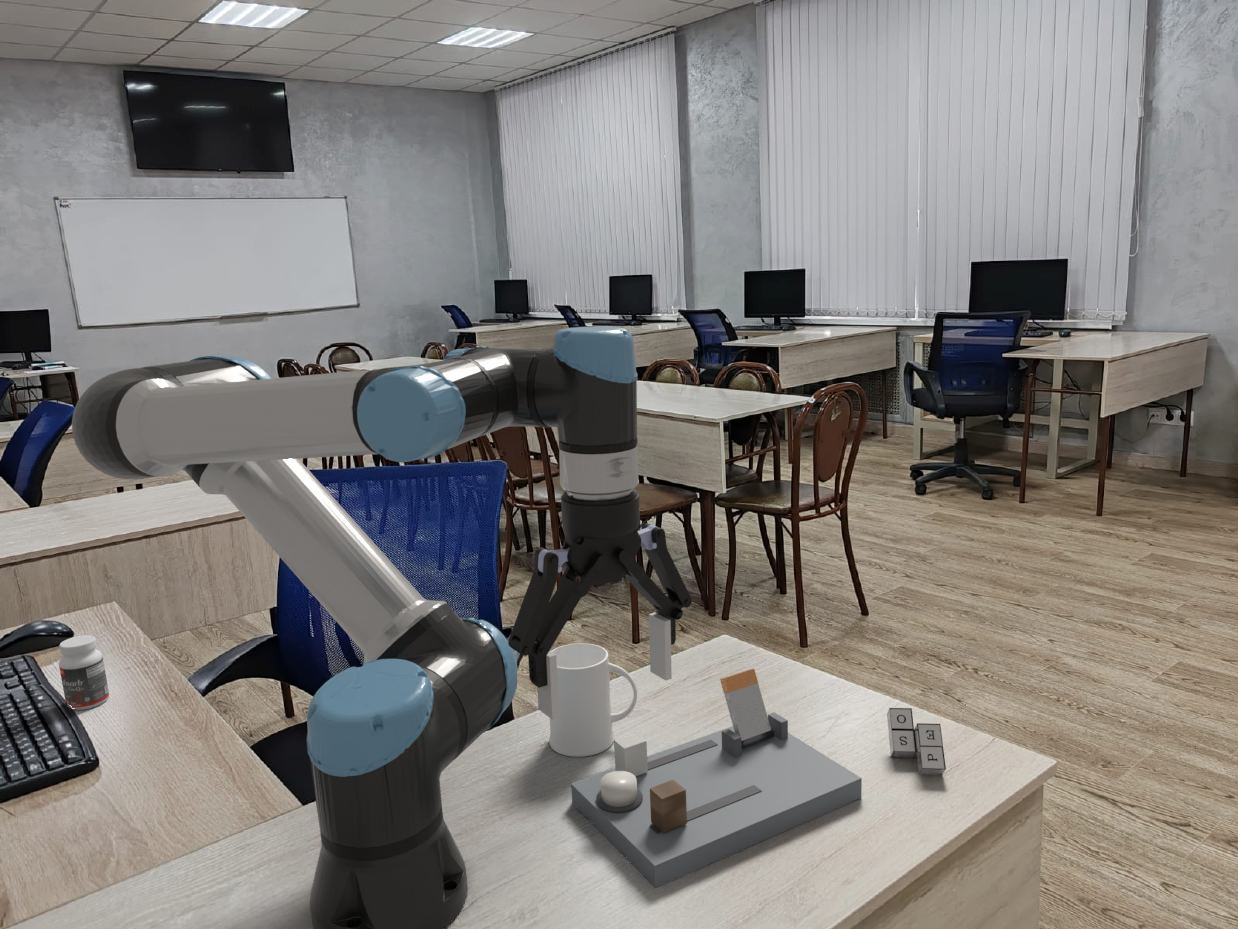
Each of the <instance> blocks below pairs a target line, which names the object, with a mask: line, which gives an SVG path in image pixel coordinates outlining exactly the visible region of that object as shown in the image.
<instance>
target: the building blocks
mask: <svg viewBox="0 0 1238 929" xmlns="http://www.w3.org/2000/svg"><path fill="white" fill-rule="evenodd" d="M886 718H887V727H888V728H887V730H888V740H889V748H890V749H889V750H890V757H891V758H905V759H906V758H908V759H909V758H915V759H917V760H916V762H917V768H918V771H917V772H918V774H919V775H925V776H926V775H928V776H930V775H935V776H943V775H944V773H945V771H946V769H947V768H946V767H947V766H946V759H945V752H944V750H945V749H944V743H943V734H942V728H941V723H927V722H926V723H923V722H922V723H921V722H918V723H917V722H916V725H914V719H913V718H914V717H913V708H911V707H910V708H909V707H906V708H905V707H889V708H888V710H887V714H886Z"/></svg>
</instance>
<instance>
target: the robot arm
mask: <svg viewBox="0 0 1238 929" xmlns="http://www.w3.org/2000/svg"><path fill="white" fill-rule="evenodd" d="M636 366H637V365H636V356H635V343H634V338H633V335H632V334H631V332H630V331H628V330H627V329H626V328H624V327H618V326H607V325H603V326H597V325H596V326H578V327H577V326H576V327H568V328H567V327H565V328H562V329H559V330H558V331H556V332H555V334H554V337H553V345H552V347H550V348H543V349H535V348H534V349H530V348H529V349H528V348H500V347H499V348H494V347H489V346H482V345H480V346H478V347H477V346H476V347H469V348H457V349H453V350H451V351H449V352H448V353H447V354H446V355H445V357H444V358H443V360H440V361H439V360H438V361H434V362H428V363H421V364H416V365H415V364H414V365H404V366H393V367H384V368H377V369H376V368H375V369H374V368H373V369H363V370H354V371H353V370H352V371H342V372H341V371H340V372H330V373H320V374H319V373H318V374H308V375H307V374H306V375H294V376H287V377H286V376H284V377H274V378H272V377H271V376H270V374H269V373H267V371H265V370H264V369H263V368H261V367H260V366H259V365H258V364H256V363H254V362H252V361H251V360H249V359H245V358H243V357H239V356H234V355H233V356H232V355H225V356H224V355H223V356H218V355H204V356H198V357H196V358H193V359H191V360H186V361H180V362H171V363H166V364H157V365H151V366H143V367H135V368H134V367H133V368H127V369H123V370H119V371H117V372H113V373H109V374H106V375H105V376H103V377H101V378H100V379H98V380H97V381H95V382H93V383H92V384H91V385H90V386H89V387H87V389H85V391H84V392H83V393H82V395H81V396H80V398H79V399H78V400H77V402H76V405H75V407H74V410H73V412H72V418H71V419H72V420H71V431H72V436H73V440H74V444H75V446H76V448H77V449H78V451H79V453H80V455H81V456H82V457H83V459H84V460H85V461H86V462H87V463H88V464H89V465H90V466H92V467H93V468H94V469H96V470H97V471H100V472H101V473H103V474H104V475H106V476H107V475H108V476H109V477H113V478H115V479H123V480H144V479H150V478H155V477H168V476H172V475H174V474H177V473H179V472H181V471H184V472H185V473H186V474H187V475H188V477H190V478H191V480H193V482H194V483H195V484H196V485H197V486H198V487H199V489H201V491H202V492H203V493H205V494H207V495H222V496H226V498H227V499H228V500H229V501H230V502H231V503H232V504H233V505H234V507H235V508H236V509H237V510H238V511H239V513H241V515H242V516H243V517H244V518H245V519H246V520H247V522H248V523H249V524H250V525H251V526H252V527H253V528H254V529H255V531H256V532H257V533H258V534H259V535H260V536H261V538H263V539H264V541H265V542H266V544H268V545H269V547H270V548H271V549H272V550H273V551H274V552H275V553H276V555H277V556H278V557H279V558H280V559H281V560H282V561H283V563H284V564H285V565H286V566H287V567H288V568H289V570H291V572H293V574H294V575H295V576H296V577H297V578H298V579H299V581H300V582H301V583H302V584H303V585H304V586H305V588H306V589H307V590H308V591H309V592H310V593H311V594H312V595H313V596H314V598H315V599H316V600H317V601H318V602H319V604H321V606H322V607H323V608H324V609H325V611H327V612H328V614H329V615H330V617H332V618H333V620H335V622H337V624H338V625H339V626H340V627H341V628H342V629H343V631H344V632H345V633H346V634H347V635H348V636H349V638H351V640H352V641H353V642H354V643H355V644H356V645H357V646H358V647H359V649H360V650H361V651H362V652H363V656H364V657H363V665H362V666H359V667H358V666H351V667H349V668H346V669H344V670H342V671H340V672H339V673H337V674H335V675H334V676H332V677H331V678H329V679H328V680H326V682H325V683H323V685H322V686H320V688H318V689H317V691H316V692H315V694H314V695H313V696H312V698H311V700H310V702H309V705H308V708H307V714H306V724H307V726H306V727H307V734H306V749H307V754H308V756H309V762H310V770H311V776H312V782H313V789H314V790H313V791H314V797H315V805H316V812H317V820H318V825H319V832H320V839H321V840H320V842H321V846H320V851H319V854H318V859H317V862H316V863H317V864H316V868H315V872H314V877H313V881H312V885H311V889H310V896H309V897H310V898H309V906H310V907H309V908H310V914H311V923H312V928H313V929H443V928H444V927H445V928H446V927H447V926H449V925H450V924H451V923H452V922H453V921H454V920H455V919H456V917H458V915H459V914H460V912H461V911H462V909H463V907H464V906H465V902H466V899H467V896H468V889H469V888H468V877H467V867H466V864H465V861H464V860H465V859H464V858H463V856H462V853H461V852H460V850H459V848H458V846H457V844H456V843H457V842H455V839H454V838H453V836H452V833H451V832H450V829H449V827H448V825H447V823H446V821H445V819H444V814H443V813H444V812H443V806H442V805H443V803H442V791H441V781H440V780H441V779H440V778H441V775H442V772H444V770H445V769H446V768H448V767H449V765H451V764H452V763H453V762H454V761H455V760H456V759H457V758H458V757H459V756H460V755H461V754H463V753H464V752H465V751H466V749H468V748H469V747H470V746H471V745H472V744H473V743H474V742H475V741H476V740H477V739H478V738H479V737H480V736H482V735H483V733H485V732H486V731H488V730H490V729H491V728H492V726H493V725H495V724H496V723H497V722H498V721H499V719H501V716H502V715H503V713H504V712H505V711H506V709H507V708H508V707H509V706H510V704H511V703H512V701H513V699H514V697H515V695H516V691H517V688H518V671H519V670H518V665H517V664H518V663H517V658H516V655H515V653H514V651H515V652H517V653H519V654H520V655H522V656H524V657H527V658H528V659H527V660H528V676H529V677H528V678H529V681H530V683H531V684H533V685H534V686H535V687H537V706H538V711H540V712H542V713H543V714H544V715H546V716H547V717H548V718H549V719H550V718H551V719H552V720H554V719H557V718H559V701H558V680H557V659H556V654H554V653H553V652H551V651H552V650H551V649H552V647H553V646H554V644H555V642H556V641H557V639H558V637H559V636H560V634H561V632H562V631H563V629H564V627H565V625H566V624H567V622H568V620H569V619H570V617H571V615H572V613H573V612H574V610H575V609H576V607H577V605H578V604H579V602H580V600H581V599H582V598H584V597H585V596H587V595H588V593H589V592H590V590H591V588H596V589H597V588H600V587H603V586H605V585H607V584H608V583H618V582H622V581H623V578H624V577H625V579H627V580H628V582H629V583H630V584H631V585H632V586H633V587H634V588H635V589H636V590H637V591H638V592H639V594H640V595H641V596H643V598H644V599H645V600H647V602H648V603H649V604H650V605H651V606H652V607H653V608H654V609H655V610H656V611H657V612H656V611H655V612H652V613H648V622H649V623H648V625H649V627H648V628H649V632H648V633H649V663H650V664H649V665H650V666H649V667H650V669H649V671H650V673H652V674H654V675H655V676H657V677H659V678H660V679H662V680H664V681H669V680H671V679H672V672H673V671H672V645H675V644H676V640H677V628H676V627H677V626H676V625H677V624H676V623H677V622H676V621H679V620H681V619H682V617H683V614H684V612H683V610H682V609H683V608H685V609H687V608H689V607H691V605H692V602H693V599H692V597H691V595H690V593H689V591H688V589H687V587H686V584H685V583H684V581H683V578H682V576H681V574H680V573H679V570H678V568H677V565H676V564H675V561H674V559H673V558H672V556H671V553H670V552H669V549H668V547H667V539H666V531H665V530H664V529H663V528H661V527H658V526H656V525H653V524H650V523H648V522H647V523H644V524H643V525H642V526H641V529H639V530H638V528H639V526H640V524H641V520H640V519H641V515H640V514H641V513H640V510H641V508H640V494H639V492H638V491H637V489H635V488H636V487H637V486H638V485H639V453H638V452H639V451H638V449H639V447H638V406H637V405H638V401H637V400H638V393H637V392H638V390H637V389H638V388H637V386H638V384H637V383H638V382H637V381H638V372H637V368H636ZM508 427H529V428H532V427H533V428H534V427H535V428H546V429H547V428H548V429H550V428H557V429H556V431H557V437H558V438H557V439H558V451H559V452H558V454H559V455H558V456H559V486H560V488H561V489H563V491H564V492H563V493H562V495H561V496H560V504H561V507H560V508H561V524H562V529H563V533H564V542H563V546H562V548H560V549H554V550H553V549H552V550H548V549H547V548H546V549H545V548H544V547H538V548H536V550H535V552H534V558H533V560H534V561H533V572H532V576H531V578H530V581H529V584H528V586H527V589H526V592H525V594H524V597H523V601H522V602H521V605H520V608H519V610H518V614H517V617H516V619H515V622H514V625H513V628H512V629H511V633H510V635H509V638H508V639H507V637H506V636H505V635H504V634H503V633H502V632H501V631H500V630H499V628H497V627H496V626H494V625H493V624H492V623H490V622H489V621H486V620H484V619H476V618H475V617H464V618H461V617H460V616H459V615H458V614H457V612H455V610H453V609H452V607H451V606H450V605H449V604H448V603H447V602H446V601H445V600H428V599H427V598H424V596H422V595H421V594H420V592H419V591H418V590H417V589H416V588H415V587H414V586H413V585H412V584H411V582H410V581H409V580H408V579H407V577H405V576H404V575H403V573H402V572H400V570H399V569H398V568H397V567H396V566H395V565H394V564H393V563H392V561H391V560H390V559H389V558H388V556H386V554H385V553H384V552H383V551H382V550H381V549H380V547H379V546H377V544H375V543H374V541H373V540H372V539H371V538H370V537H369V535H368V534H366V532H365V530H363V529H362V527H361V526H360V525H358V523H357V521H355V520H354V519H353V517H351V515H350V514H349V513H348V512H347V511H346V510H345V509H344V507H343V506H342V505H341V504H340V503H339V501H337V500H336V499H335V498H334V496H332V494H331V493H330V492H329V491H328V490H327V488H326V487H325V486H324V485H323V484H322V483H321V482H320V481H319V480H318V479H317V478H316V476H315V475H314V474H313V473H312V472H311V471H310V470H309V468H307V466H306V465H305V464H304V463H303V462H302V461H301V459H309V458H312V459H313V458H331V457H332V458H333V457H347V456H349V457H350V456H368V455H380V456H382V457H383V458H385V459H388V460H389V461H393V462H398V463H399V462H400V463H406V462H413V461H416V460H423V459H429V458H433V457H436V456H438V455H440V454H441V453H443V452H445V451H446V450H449V449H452V448H455V447H457V446H459V445H462V444H464V443H467V442H469V441H472V440H474V439H478V438H480V437H483V436H486V435H489V434H491V433H494V432H496V431H498V430H501V429H503V428H508ZM640 548H643V549H644V551H645V554H646V556H647V557H648V559H649V562H650V564H651V566H652V568H653V570H654V573H655V574H656V576H657V578H658V581H659V582H660V584H661V585H662V588H663V590H664V591H665V592H664V591H662V589H661V588H660V587H659V586H658V585H657V584H656V582H654V581H653V579H652V578H651V577H650V576H649V575H648V574H647V573H646V570H645V569H644V568H643V567H642V566H641V565H640V564H639V563H638V561H637V560H636V559H635V558H636V556H637V554H638V552H639V550H640ZM563 564H565V565H566V568H565V570H564V571H563V567H562V566H563ZM562 571H563V573H562V574H561V576H560V578H559V582H558V583H559V585H558V587H557V589H556V591H555V592H554V590H555V587H556V584H557V581H558V576H559V574H560V573H561V572H562ZM558 573H559V574H558ZM576 578H577V579H578V580H579V581H578V582H575V579H576ZM445 928H444V929H445Z"/></svg>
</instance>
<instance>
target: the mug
mask: <svg viewBox="0 0 1238 929" xmlns="http://www.w3.org/2000/svg"><path fill="white" fill-rule="evenodd" d="M550 651H551V652H553V653H554V654H556V659H557V680H558V701H559V718H557V719H554V720H552V719H551V718H549V724H550V725H549V731H550V732H549V733H550V734H549V739H548V740H549V746H550V748H551V750H554V751H555V752H556V753H557V754H561V755H563V756H567V757H573V758H575V757H576V758H582V757H583V758H584V757H585V758H586V757H590V756H594V755H597V754H601V753H603V752H605V751H606V750H608V749H609V748H610V747H611V746H612V745H614V740H615V733H614V730H613V724H614V723H617V722H619V721H621V720H624V719H625V718H627V717H628V716H629V715H630V714H631V712H633V710H634V708H635V706H636V704H637V701H638V688H637V685H636V683H635V680H634V678H633V677H632V675H631V674H630V673H629V672H628V671H627V670H625V669H624V668H623V667H621V666H619V665H617V664H614V663H611V662H610V661H609V652H608V651H607V649H606V648H604V647H603V646H600V645H597V644H592V643H584V642H583V643H570V644H564V645H561V646H557V647H556V648H554V649H552V650H550ZM610 673H615V674H618V675H620V676H621V677H624V679H626V680H627V682H629V684H630V686H631V688H632V692H633V697H632V700H631V703H630V704H629V706H628V707H627V708H626V709H624V710H623V711H620V712H616V713H615V712H613V713H612V705H611V704H612V703H611V702H612V701H611V684H610V682H611V680H610Z"/></svg>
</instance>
